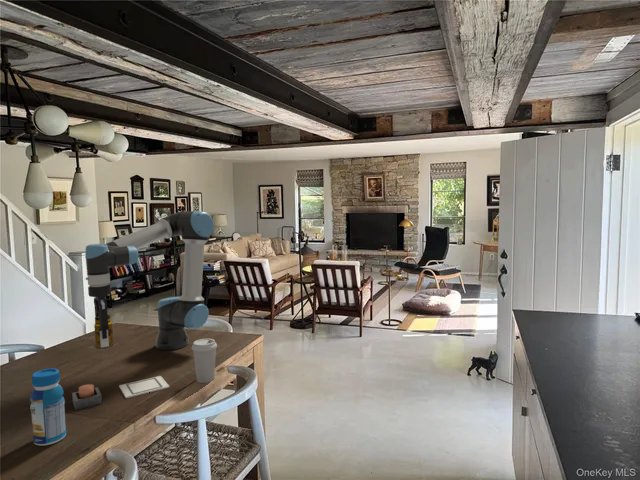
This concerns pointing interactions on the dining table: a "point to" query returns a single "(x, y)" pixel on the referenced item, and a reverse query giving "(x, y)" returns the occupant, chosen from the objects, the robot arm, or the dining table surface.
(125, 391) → the white rectangular plate
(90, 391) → the button
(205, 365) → the coffee cup
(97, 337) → the condiment
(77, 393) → the button box
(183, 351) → the dining table surface
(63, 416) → the beverage bottle
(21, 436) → the dining table surface
